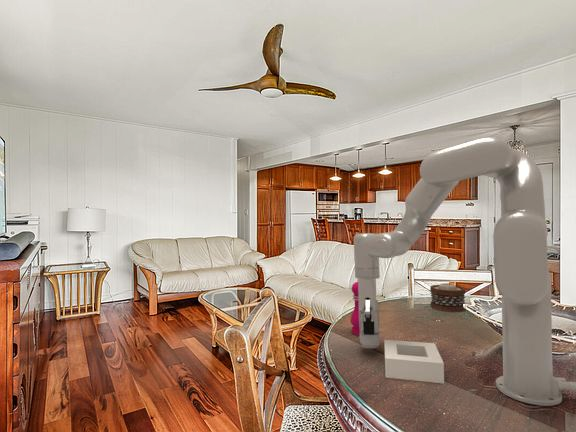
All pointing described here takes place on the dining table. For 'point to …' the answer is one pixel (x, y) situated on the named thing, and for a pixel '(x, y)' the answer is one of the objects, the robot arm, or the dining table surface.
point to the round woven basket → (447, 297)
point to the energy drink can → (374, 340)
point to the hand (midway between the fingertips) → (369, 330)
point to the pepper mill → (355, 310)
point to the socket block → (413, 361)
